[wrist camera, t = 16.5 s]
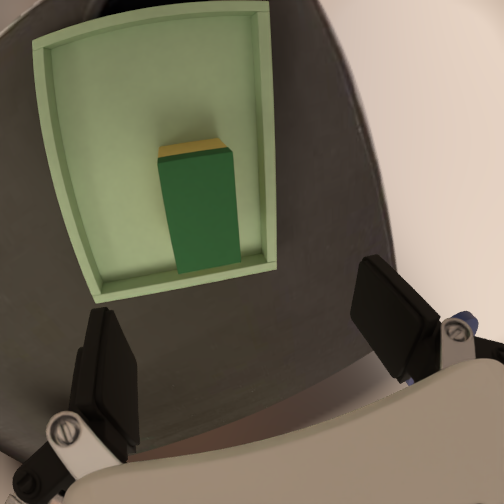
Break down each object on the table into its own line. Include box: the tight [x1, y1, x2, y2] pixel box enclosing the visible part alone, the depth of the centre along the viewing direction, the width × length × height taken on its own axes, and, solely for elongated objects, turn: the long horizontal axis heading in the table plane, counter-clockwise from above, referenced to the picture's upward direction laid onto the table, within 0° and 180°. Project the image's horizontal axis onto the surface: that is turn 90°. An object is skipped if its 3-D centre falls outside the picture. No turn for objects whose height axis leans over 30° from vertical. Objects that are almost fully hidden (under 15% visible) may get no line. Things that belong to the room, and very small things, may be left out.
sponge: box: [157, 138, 241, 274], centre depth 19 cm, size 7×4×4 cm, turn 3°
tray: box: [32, 0, 277, 303], centre depth 18 cm, size 20×15×2 cm
